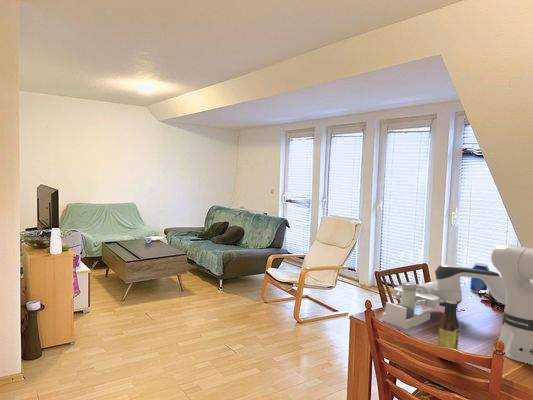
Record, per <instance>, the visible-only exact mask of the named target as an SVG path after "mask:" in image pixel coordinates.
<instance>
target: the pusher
mask: <svg viewBox="0 0 533 400" xmlns="http://www.w3.org/2000/svg"><path fill="white" fill-rule="evenodd" d="M395 304H396V305H399V306H401V304H398V303H395ZM402 307H404V306H402ZM405 308H407V307H405ZM412 317H413V309H411V308H407V314H406V320H407V319H410V318H412Z"/></svg>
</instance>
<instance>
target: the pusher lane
mask: <svg viewBox="0 0 533 400" xmlns="http://www.w3.org/2000/svg"><path fill="white" fill-rule="evenodd" d="M396 304H397V303H392V302H389V301H386V302H385V311H384V312H382V317H381V318H382V319H381V321H382V322H385V323H388V324H390V325H393V326H395V327H398V328H401V329H403V330H406V331H407V330H409V329H411V328H414V327H416V326H419V325H420V324H423V323H425V322H427V321H430V319H431V311H429V310H427V311H424V312H422V313H420V314H417V313H414V317H412V318H410V319H407V320H406V314H407V308H405V307H402V306H399V305H400V304H398V305H396Z"/></svg>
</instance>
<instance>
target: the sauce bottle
mask: <svg viewBox="0 0 533 400" xmlns="http://www.w3.org/2000/svg"><path fill="white" fill-rule="evenodd" d="M444 305H445V307H444V311H443V313H444V314H443V315H442V316H441V317H440V319H439V326H438V338H437V339H438V340H437V346H438V345H439V346H443V347H448V348H452V349H456V350H457V351H458V348H459V347H458V346H459V336H460V335H459V333H460V324H459V320H458V317H457V308H458V305H457V302H455V301H450V300H446V301H445V303H444Z"/></svg>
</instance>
